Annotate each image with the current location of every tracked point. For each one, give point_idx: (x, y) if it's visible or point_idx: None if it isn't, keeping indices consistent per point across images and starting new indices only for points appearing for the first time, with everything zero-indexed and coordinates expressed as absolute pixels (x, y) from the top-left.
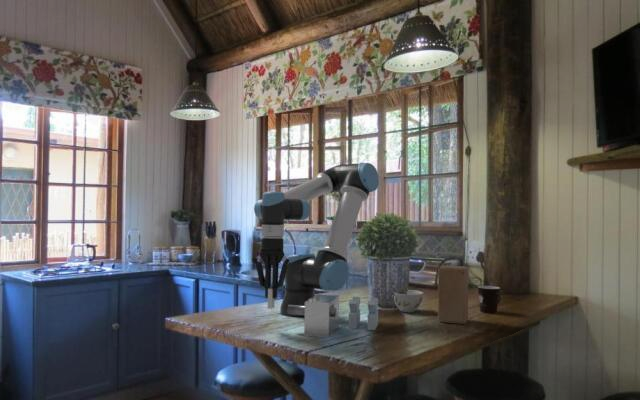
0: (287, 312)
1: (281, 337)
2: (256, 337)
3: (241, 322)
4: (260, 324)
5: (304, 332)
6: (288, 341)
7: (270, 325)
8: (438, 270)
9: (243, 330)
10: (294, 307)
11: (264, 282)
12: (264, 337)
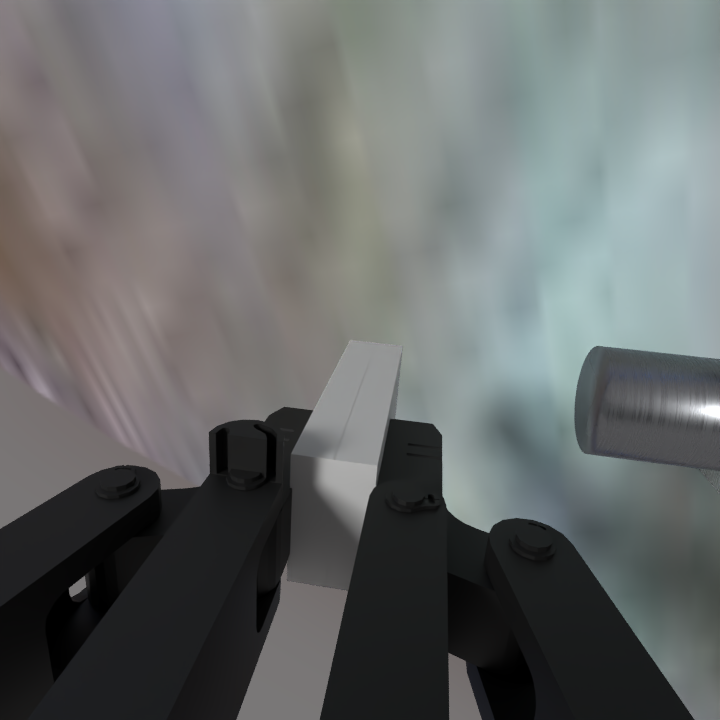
0: (575, 425)
1: None
2: None
3: (63, 89)
4: (251, 133)
5: (705, 476)
6: None
7: (350, 154)
8: None
9: (204, 373)
10: (683, 466)
11: (133, 553)
12: None
